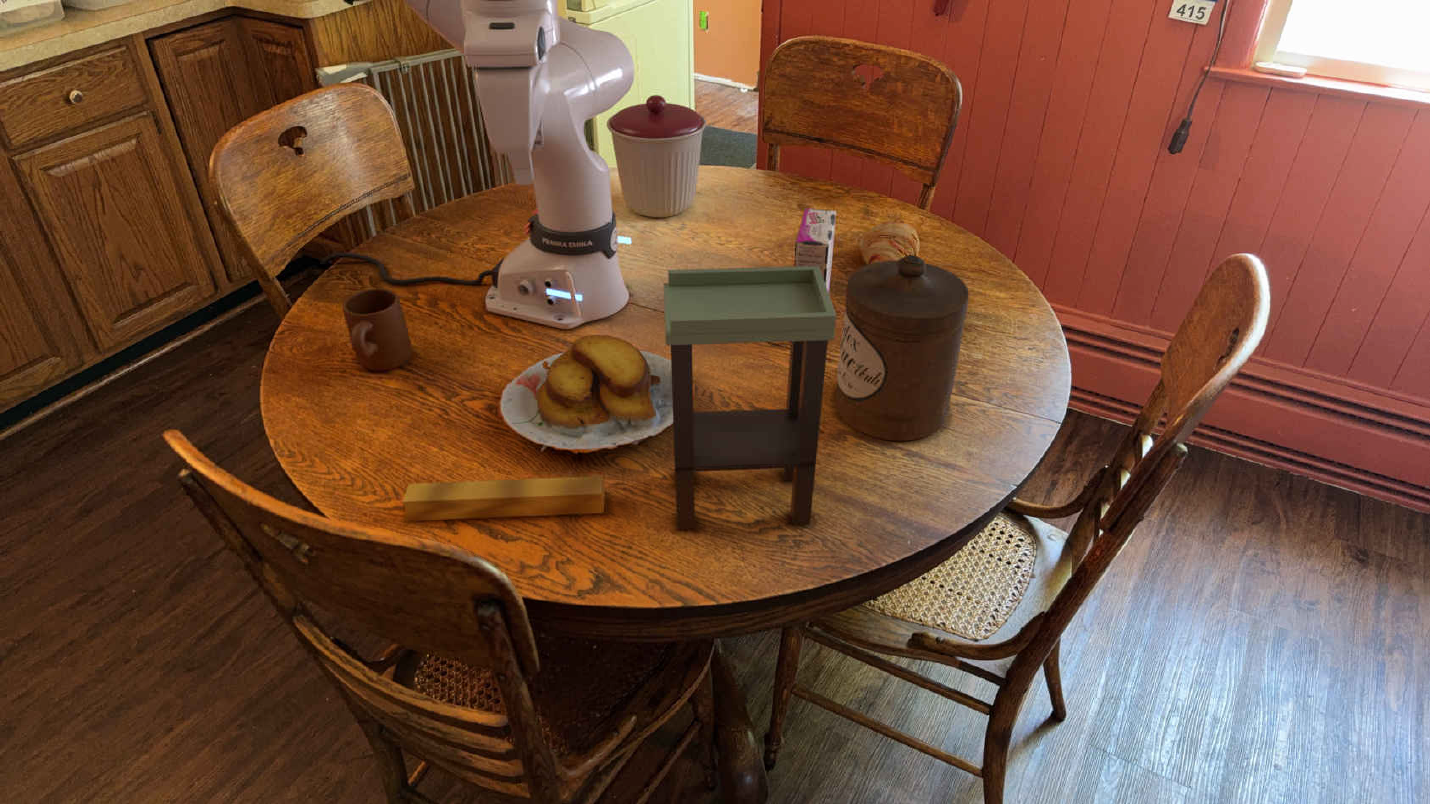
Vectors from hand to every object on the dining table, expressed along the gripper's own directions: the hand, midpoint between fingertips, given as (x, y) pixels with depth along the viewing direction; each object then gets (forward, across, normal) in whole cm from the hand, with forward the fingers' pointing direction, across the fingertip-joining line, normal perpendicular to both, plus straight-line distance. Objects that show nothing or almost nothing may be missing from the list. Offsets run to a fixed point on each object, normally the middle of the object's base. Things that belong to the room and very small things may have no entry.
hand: (530, 164), depth 89 cm
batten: (+35, +15, -5) cm, 38 cm away
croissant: (+35, -43, +52) cm, 76 cm away
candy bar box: (+35, -24, +35) cm, 55 cm away
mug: (+35, -15, -27) cm, 47 cm away
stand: (+35, +15, +21) cm, 44 cm away
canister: (+35, -68, +13) cm, 78 cm away
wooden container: (+35, -2, +43) cm, 56 cm away
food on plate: (+35, -4, +4) cm, 36 cm away
